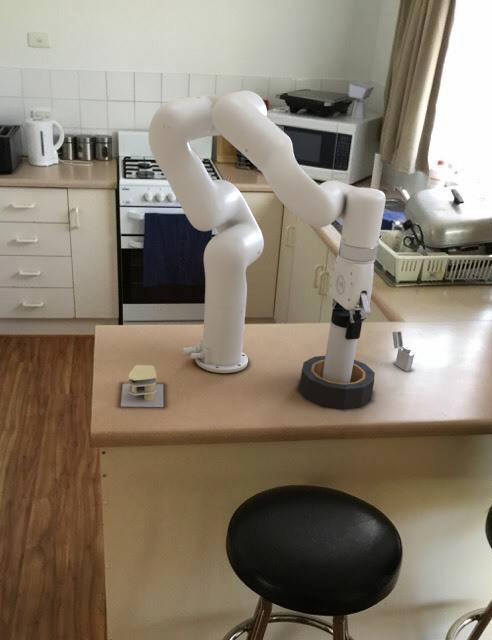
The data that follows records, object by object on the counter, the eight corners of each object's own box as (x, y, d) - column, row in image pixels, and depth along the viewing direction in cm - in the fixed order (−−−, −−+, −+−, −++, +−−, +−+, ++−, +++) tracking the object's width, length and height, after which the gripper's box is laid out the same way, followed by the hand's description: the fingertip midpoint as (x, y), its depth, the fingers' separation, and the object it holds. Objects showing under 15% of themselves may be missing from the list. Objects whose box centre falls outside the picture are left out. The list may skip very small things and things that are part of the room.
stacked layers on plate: (122, 383, 155) (122, 361, 152) (163, 384, 155) (163, 362, 153) (120, 406, 146) (120, 383, 143) (163, 407, 147) (163, 384, 144)
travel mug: (349, 398, 155) (364, 315, 145) (319, 394, 156) (332, 311, 146) (350, 386, 160) (364, 305, 150) (321, 381, 161) (334, 300, 151)
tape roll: (318, 412, 149) (321, 391, 146) (289, 377, 162) (291, 358, 160) (383, 404, 154) (387, 384, 151) (350, 371, 167) (353, 352, 164)
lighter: (411, 370, 169) (418, 340, 166) (406, 371, 169) (412, 341, 165) (392, 357, 175) (398, 328, 171) (386, 359, 174) (392, 329, 170)
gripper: (322, 239, 148) (312, 317, 157) (361, 266, 134) (347, 350, 142) (354, 238, 150) (341, 315, 159) (395, 264, 136) (379, 347, 145)
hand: (344, 331), depth 151 cm, fingers closed on travel mug, 6 cm apart
